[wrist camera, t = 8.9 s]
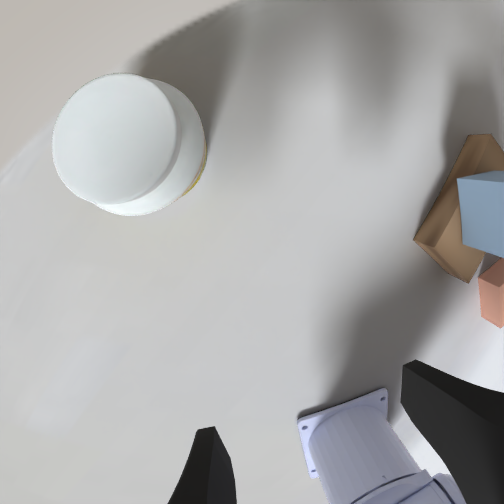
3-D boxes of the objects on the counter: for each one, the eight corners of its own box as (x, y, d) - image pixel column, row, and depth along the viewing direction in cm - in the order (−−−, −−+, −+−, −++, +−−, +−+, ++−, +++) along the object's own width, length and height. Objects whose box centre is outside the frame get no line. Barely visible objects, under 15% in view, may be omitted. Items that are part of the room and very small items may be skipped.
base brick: (445, 271, 22) (468, 283, 19) (409, 238, 21) (434, 248, 18) (494, 175, 21) (519, 177, 18) (465, 135, 20) (491, 134, 17)
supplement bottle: (226, 159, 18) (243, 143, 9) (156, 220, 18) (106, 267, 9) (167, 92, 16) (129, 21, 7) (99, 154, 17) (8, 143, 7)
